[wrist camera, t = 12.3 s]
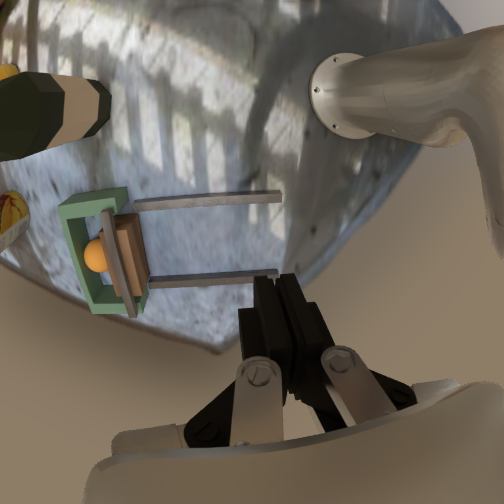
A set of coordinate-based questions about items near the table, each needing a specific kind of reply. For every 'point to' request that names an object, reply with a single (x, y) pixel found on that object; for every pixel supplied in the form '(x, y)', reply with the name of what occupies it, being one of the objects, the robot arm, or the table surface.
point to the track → (208, 200)
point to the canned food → (12, 218)
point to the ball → (95, 256)
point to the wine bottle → (48, 112)
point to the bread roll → (7, 71)
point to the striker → (124, 256)
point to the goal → (77, 239)
